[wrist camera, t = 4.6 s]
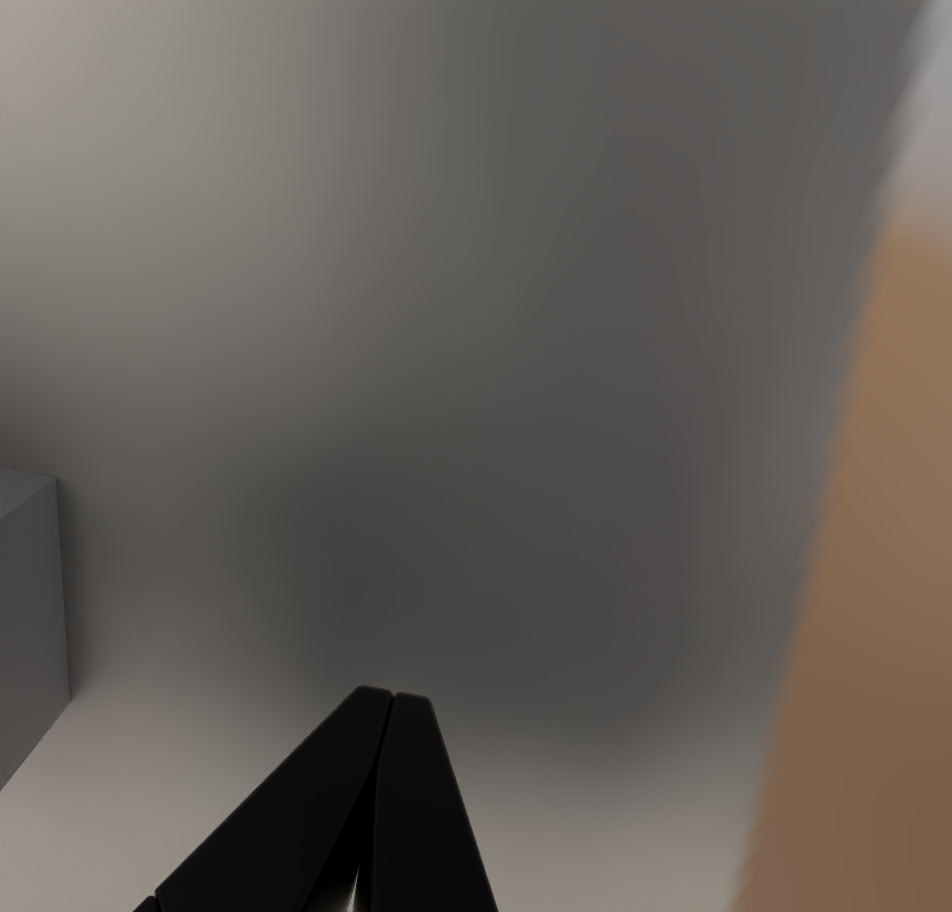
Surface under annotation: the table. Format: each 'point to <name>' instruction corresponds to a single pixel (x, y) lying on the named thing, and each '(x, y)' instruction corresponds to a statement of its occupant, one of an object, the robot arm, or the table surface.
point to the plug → (30, 616)
